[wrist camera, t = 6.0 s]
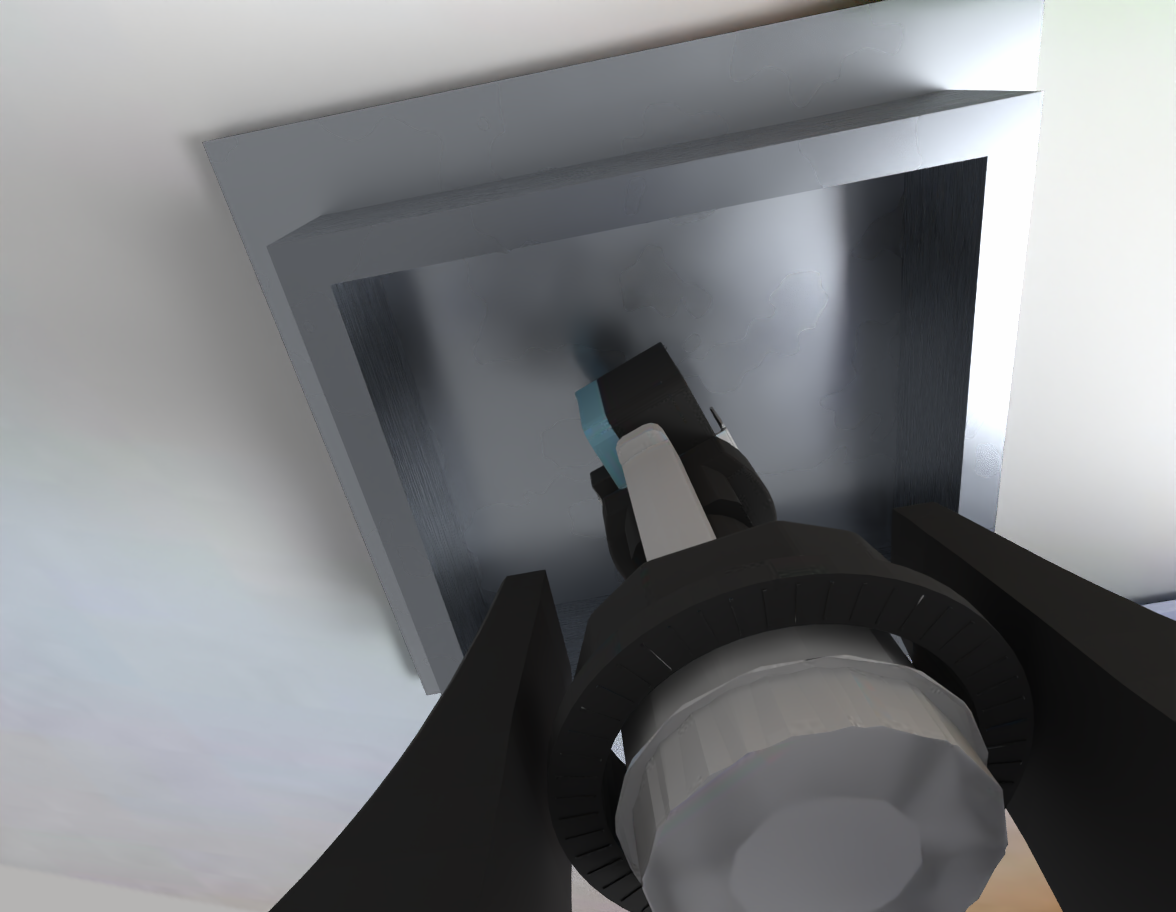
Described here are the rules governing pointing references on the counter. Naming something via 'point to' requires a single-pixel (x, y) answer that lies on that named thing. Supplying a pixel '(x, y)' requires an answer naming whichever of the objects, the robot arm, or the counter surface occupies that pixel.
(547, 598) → the robot arm
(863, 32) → the grey metal tray
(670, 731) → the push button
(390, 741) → the counter surface
